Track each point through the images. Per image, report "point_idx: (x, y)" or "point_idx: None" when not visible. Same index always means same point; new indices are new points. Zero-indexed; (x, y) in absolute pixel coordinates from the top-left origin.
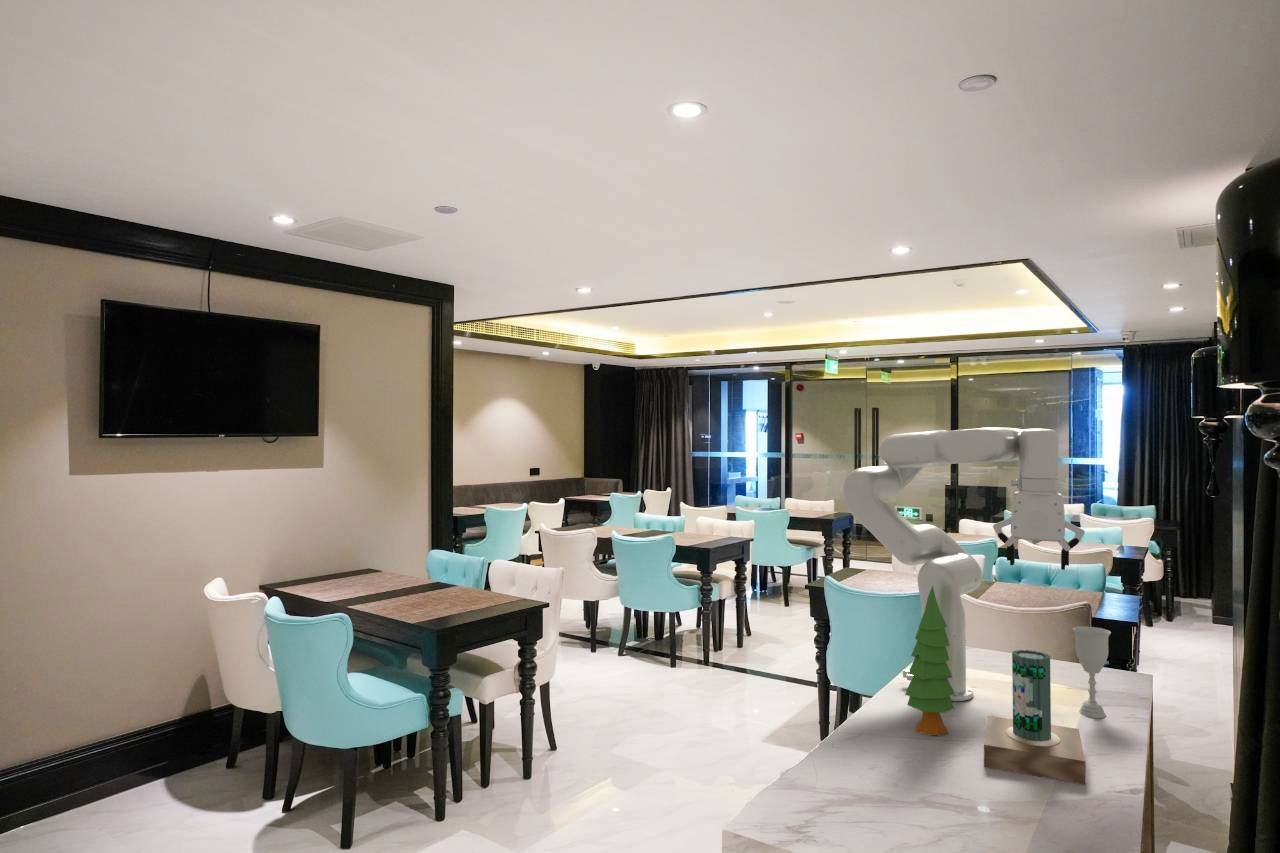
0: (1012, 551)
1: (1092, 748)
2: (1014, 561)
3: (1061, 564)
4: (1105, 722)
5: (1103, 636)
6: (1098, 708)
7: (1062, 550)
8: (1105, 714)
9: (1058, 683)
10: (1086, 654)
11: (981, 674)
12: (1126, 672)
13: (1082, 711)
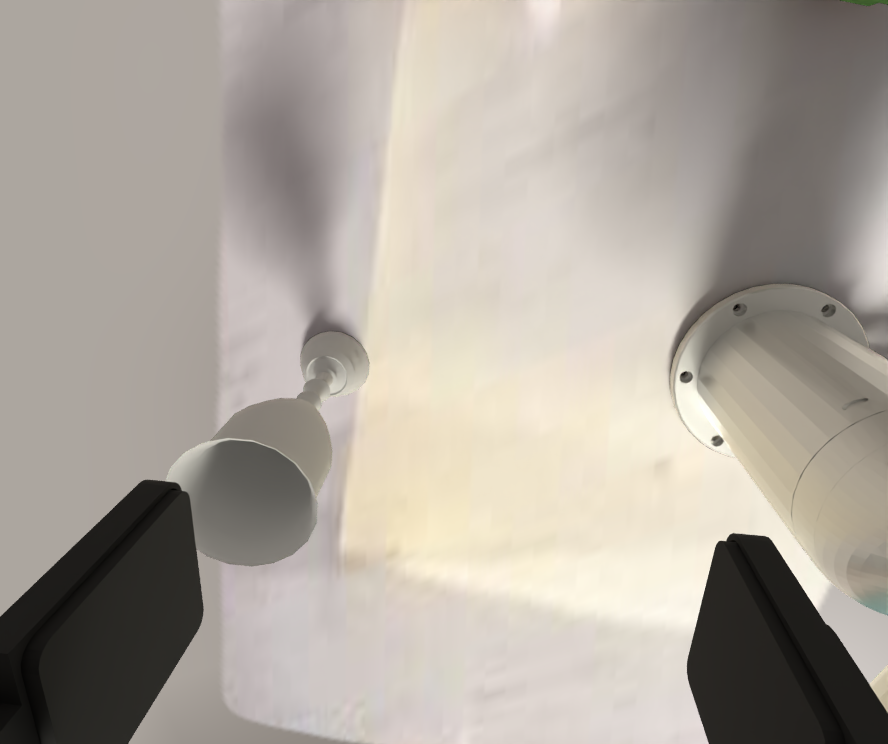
0: (821, 676)
1: (335, 36)
2: (694, 671)
3: (153, 516)
4: (301, 302)
5: (194, 450)
6: (312, 352)
7: (18, 696)
8: (301, 362)
9: (418, 582)
10: (290, 408)
11: (628, 585)
12: (258, 720)
13: (358, 352)
